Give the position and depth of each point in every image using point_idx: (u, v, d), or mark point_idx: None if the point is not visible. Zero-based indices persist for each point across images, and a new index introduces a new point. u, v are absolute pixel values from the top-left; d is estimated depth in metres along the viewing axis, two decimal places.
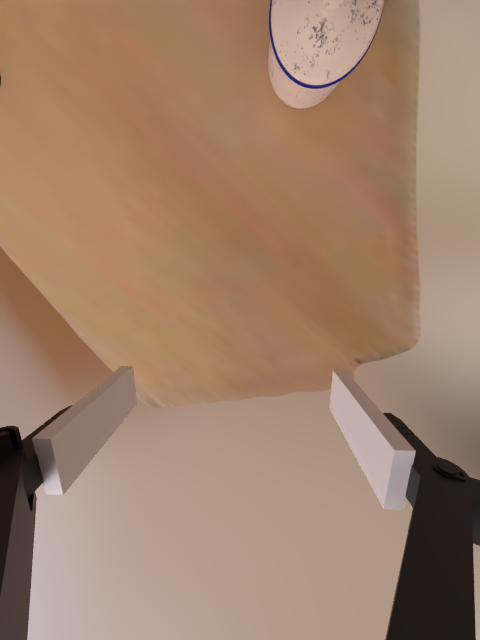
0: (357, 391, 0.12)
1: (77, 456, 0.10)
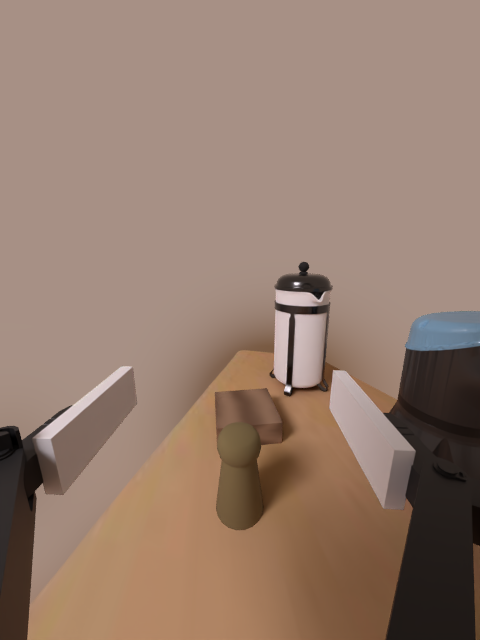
0: (357, 391, 0.12)
1: (77, 456, 0.10)
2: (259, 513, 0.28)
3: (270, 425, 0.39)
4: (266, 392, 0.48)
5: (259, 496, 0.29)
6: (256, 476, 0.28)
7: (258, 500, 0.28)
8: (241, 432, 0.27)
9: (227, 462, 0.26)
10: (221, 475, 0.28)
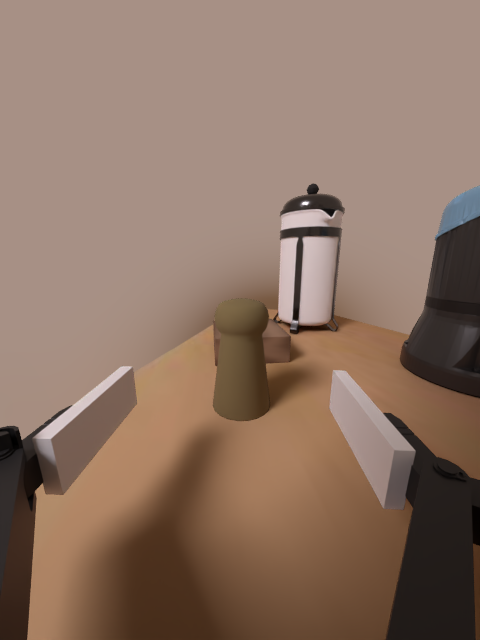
0: (357, 391, 0.12)
1: (77, 456, 0.10)
2: (265, 406, 0.23)
3: (277, 340, 0.34)
4: (271, 320, 0.43)
5: (265, 385, 0.23)
6: (262, 357, 0.23)
7: (264, 389, 0.23)
8: (244, 300, 0.22)
9: (227, 329, 0.21)
10: (219, 357, 0.23)
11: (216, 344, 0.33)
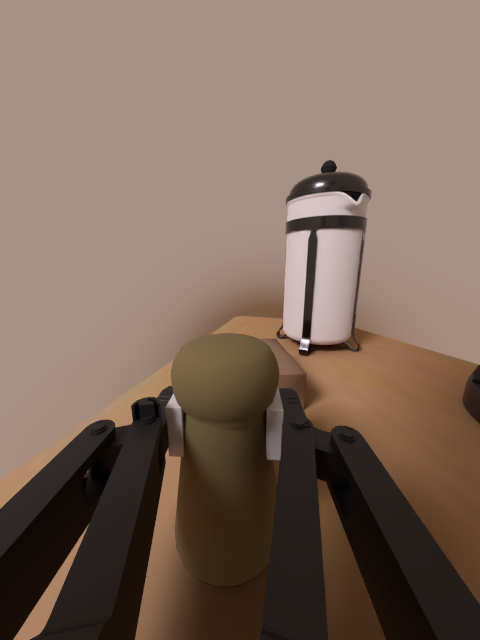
0: None
1: None
2: None
3: (286, 379, 0.23)
4: (275, 342, 0.32)
5: (273, 501, 0.12)
6: None
7: (271, 511, 0.12)
8: (231, 341, 0.11)
9: (191, 410, 0.10)
10: None
11: None
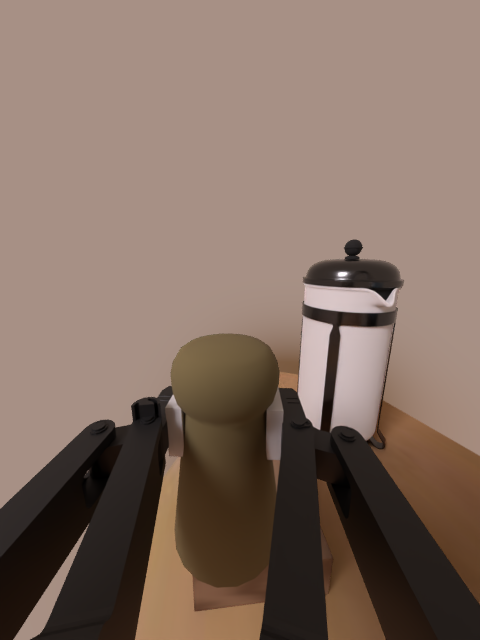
0: None
1: None
2: None
3: None
4: None
5: (273, 502, 0.12)
6: None
7: (271, 512, 0.12)
8: (231, 341, 0.11)
9: (191, 410, 0.10)
10: None
11: (195, 581, 0.18)
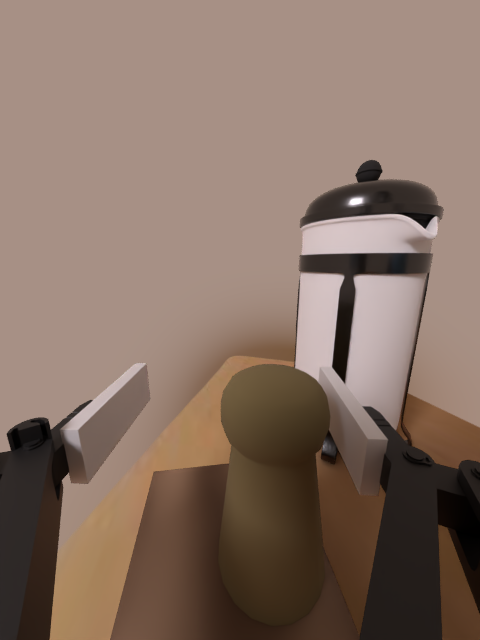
0: (340, 386, 0.13)
1: (99, 447, 0.11)
2: (322, 575, 0.12)
3: None
4: None
5: (321, 534, 0.12)
6: (316, 487, 0.11)
7: (320, 545, 0.12)
8: (281, 377, 0.11)
9: (250, 452, 0.10)
10: (231, 486, 0.12)
11: None
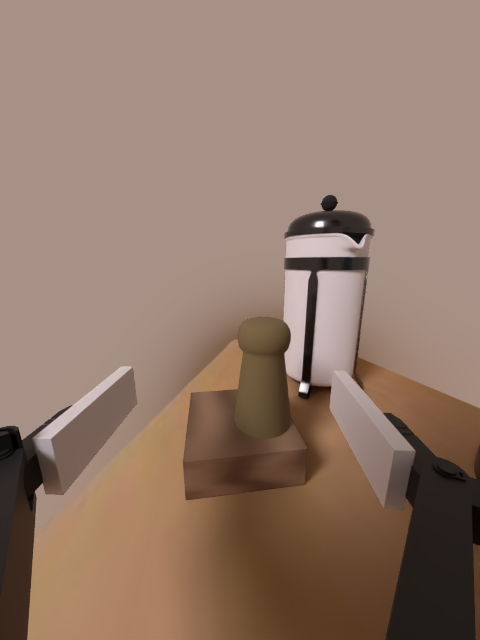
0: (357, 391, 0.12)
1: (77, 456, 0.10)
2: (288, 422, 0.24)
3: (286, 455, 0.21)
4: None
5: (287, 402, 0.24)
6: (284, 375, 0.23)
7: (287, 406, 0.23)
8: (267, 319, 0.23)
9: (252, 349, 0.21)
10: (242, 375, 0.23)
11: (186, 469, 0.20)
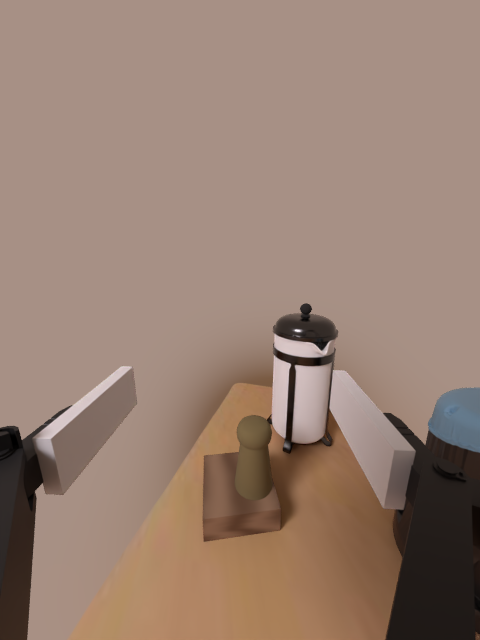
0: (357, 391, 0.12)
1: (77, 456, 0.10)
2: (269, 487, 0.36)
3: (267, 513, 0.33)
4: None
5: (269, 474, 0.36)
6: (267, 458, 0.35)
7: (269, 477, 0.36)
8: (256, 422, 0.35)
9: (246, 446, 0.33)
10: (240, 457, 0.35)
11: (204, 523, 0.32)
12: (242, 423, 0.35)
